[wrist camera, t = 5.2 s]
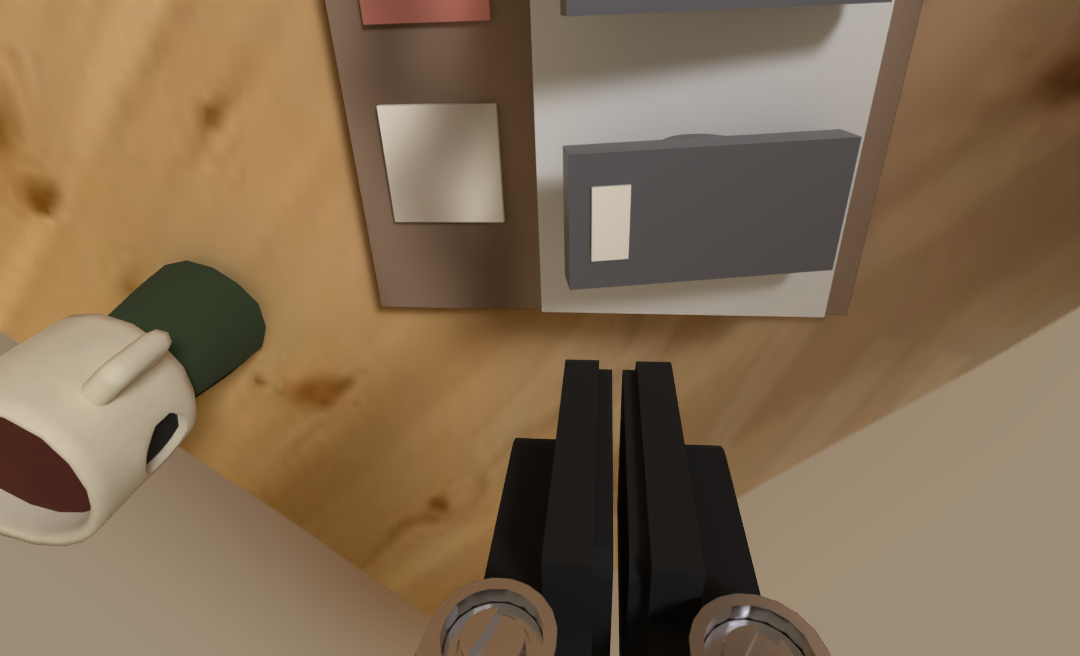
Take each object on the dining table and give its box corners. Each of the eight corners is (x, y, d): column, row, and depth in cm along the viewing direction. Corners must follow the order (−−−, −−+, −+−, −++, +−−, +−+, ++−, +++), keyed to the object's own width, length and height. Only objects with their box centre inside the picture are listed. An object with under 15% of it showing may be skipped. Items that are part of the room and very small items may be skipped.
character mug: (213, 400, 36) (29, 590, 25) (109, 316, 34) (-146, 483, 22) (326, 301, 32) (165, 475, 20) (215, 197, 29) (-34, 328, 18)
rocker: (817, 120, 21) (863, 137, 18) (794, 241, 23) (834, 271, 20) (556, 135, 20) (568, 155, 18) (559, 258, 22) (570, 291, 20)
